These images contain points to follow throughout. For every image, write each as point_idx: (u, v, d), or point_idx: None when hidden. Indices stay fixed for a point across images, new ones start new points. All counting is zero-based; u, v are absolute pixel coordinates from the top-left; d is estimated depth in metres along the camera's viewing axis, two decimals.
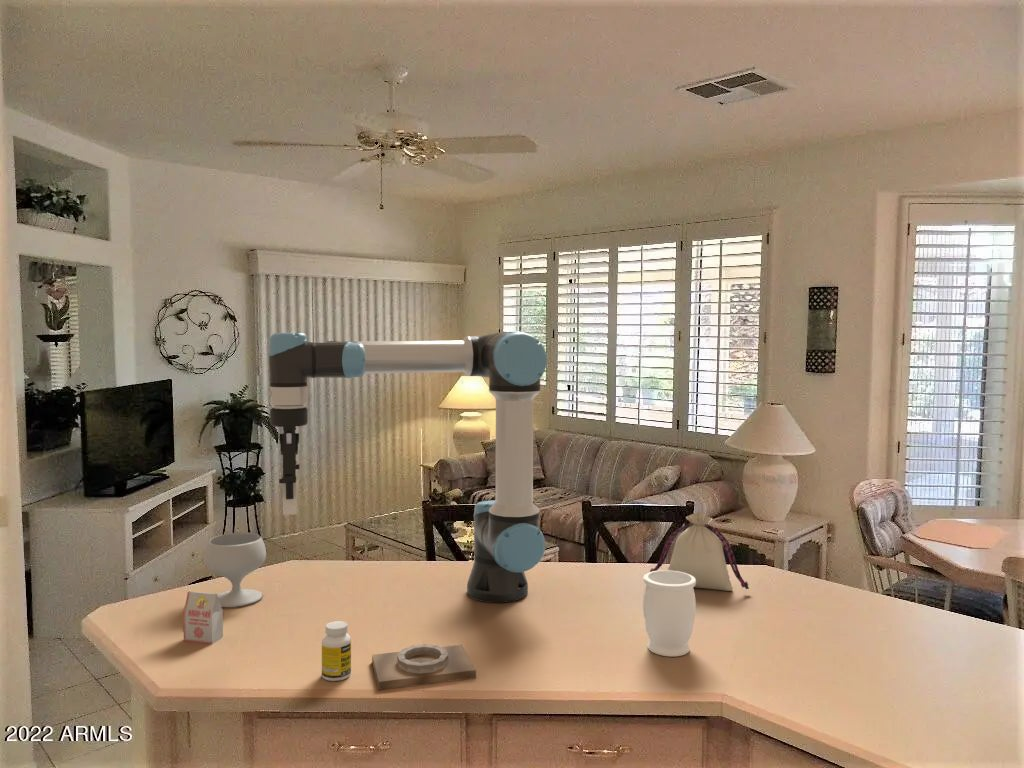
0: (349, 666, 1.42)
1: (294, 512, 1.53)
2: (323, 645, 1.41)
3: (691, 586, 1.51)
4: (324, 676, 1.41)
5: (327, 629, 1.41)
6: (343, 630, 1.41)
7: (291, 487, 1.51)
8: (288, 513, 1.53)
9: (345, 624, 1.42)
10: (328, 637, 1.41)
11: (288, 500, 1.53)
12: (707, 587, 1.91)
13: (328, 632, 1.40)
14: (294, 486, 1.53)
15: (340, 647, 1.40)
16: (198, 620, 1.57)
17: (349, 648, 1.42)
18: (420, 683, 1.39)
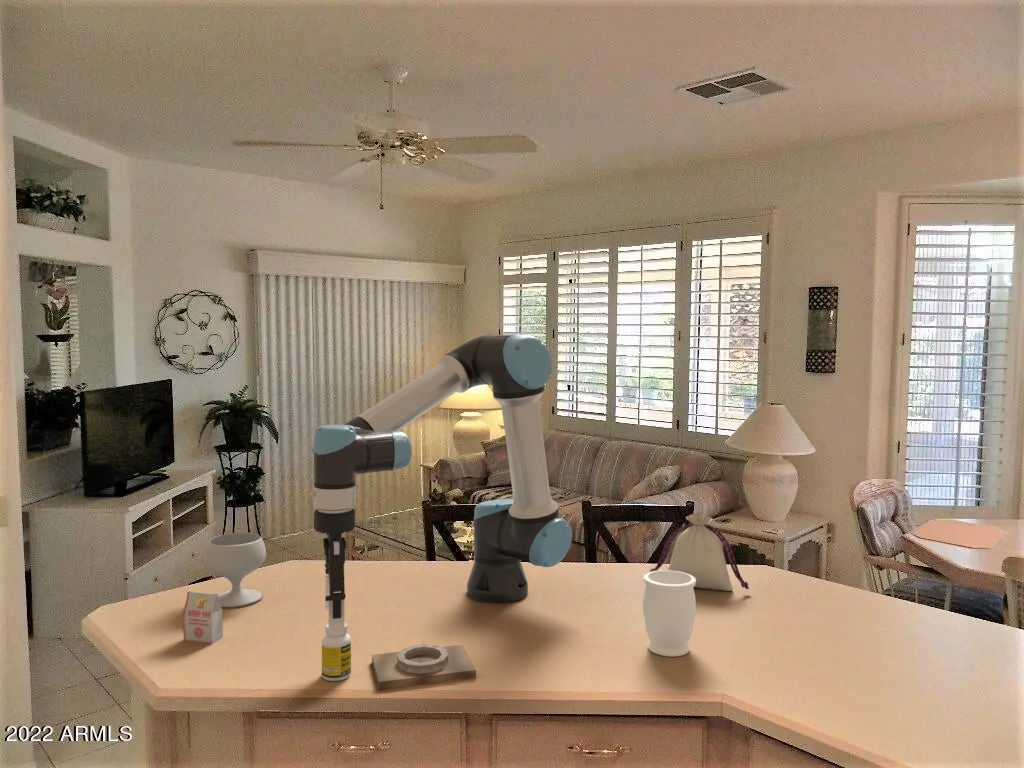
0: (349, 666, 1.42)
1: (341, 632, 1.35)
2: (323, 645, 1.41)
3: (691, 586, 1.51)
4: (324, 676, 1.41)
5: (327, 629, 1.41)
6: None
7: (339, 605, 1.34)
8: (335, 633, 1.35)
9: (345, 624, 1.42)
10: (328, 637, 1.41)
11: (335, 619, 1.35)
12: (707, 587, 1.91)
13: (328, 632, 1.40)
14: (341, 603, 1.35)
15: (340, 648, 1.40)
16: (198, 620, 1.57)
17: (349, 648, 1.42)
18: (420, 683, 1.39)
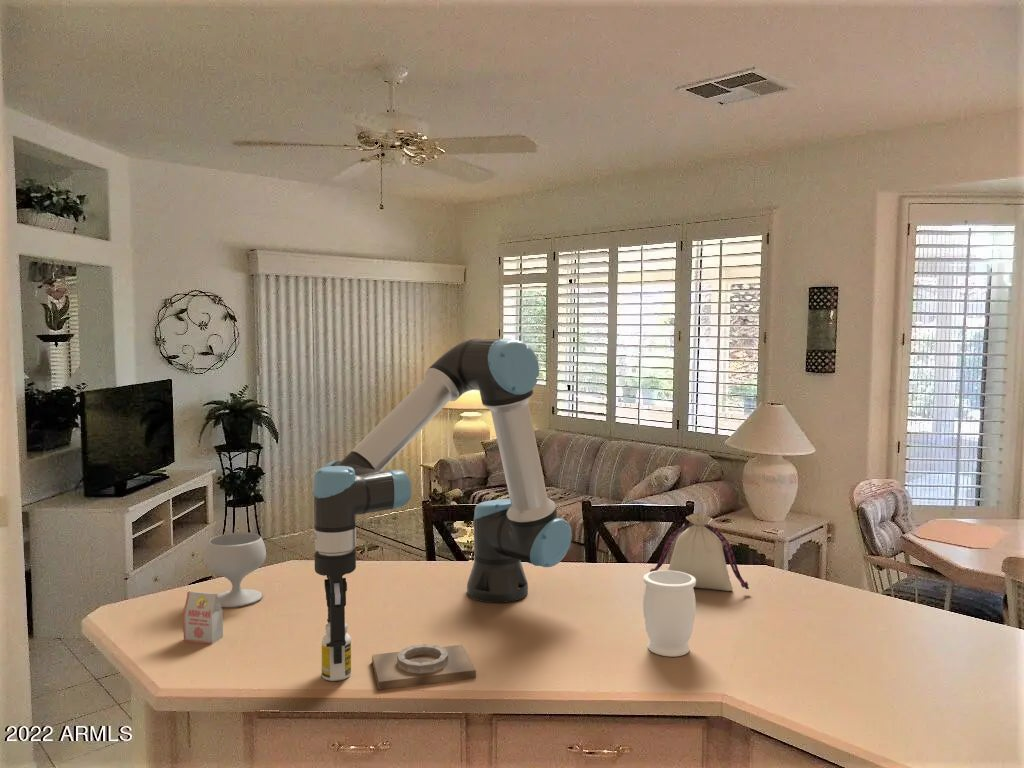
0: (349, 666, 1.42)
1: (342, 676, 1.40)
2: (323, 645, 1.41)
3: (691, 586, 1.51)
4: (324, 676, 1.41)
5: (327, 629, 1.41)
6: None
7: (339, 651, 1.38)
8: (336, 678, 1.39)
9: (345, 624, 1.42)
10: (328, 637, 1.41)
11: (336, 664, 1.39)
12: (707, 587, 1.91)
13: (328, 632, 1.40)
14: (342, 648, 1.39)
15: None
16: (198, 620, 1.57)
17: (349, 648, 1.42)
18: (420, 683, 1.39)
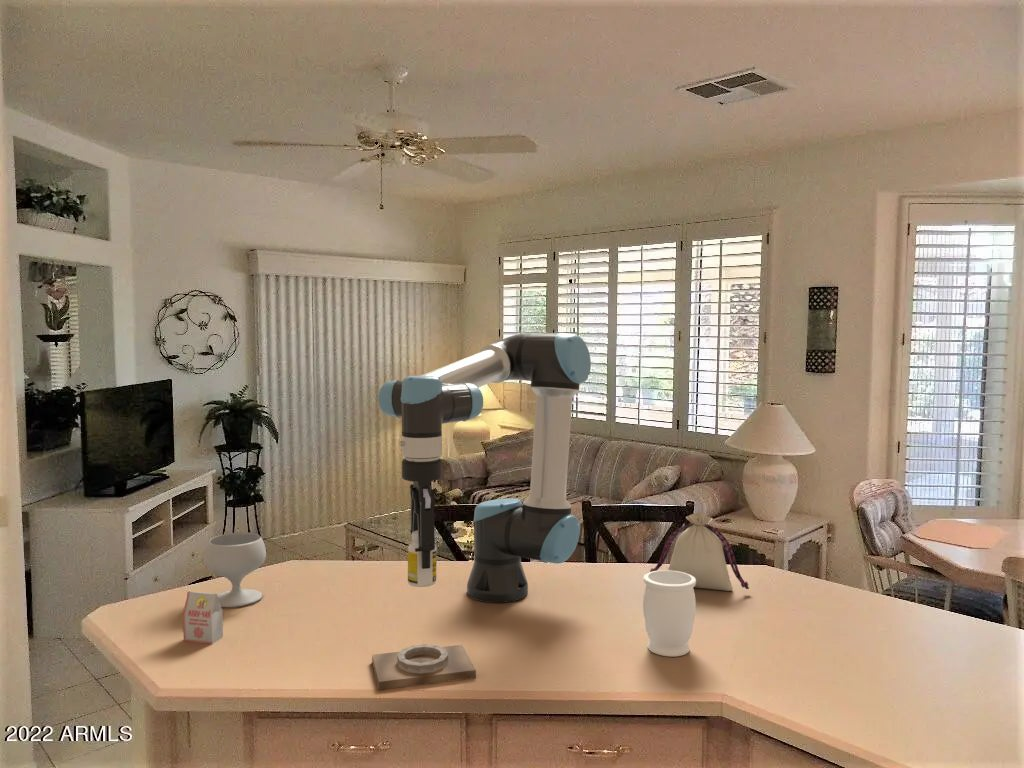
0: (435, 573, 1.43)
1: (430, 582, 1.41)
2: (410, 551, 1.42)
3: (691, 586, 1.51)
4: (411, 582, 1.42)
5: (414, 536, 1.42)
6: None
7: (428, 555, 1.39)
8: (423, 583, 1.41)
9: None
10: (415, 544, 1.42)
11: (424, 569, 1.40)
12: (707, 587, 1.91)
13: (415, 539, 1.42)
14: (430, 554, 1.41)
15: None
16: (198, 620, 1.57)
17: (435, 555, 1.43)
18: (420, 683, 1.39)
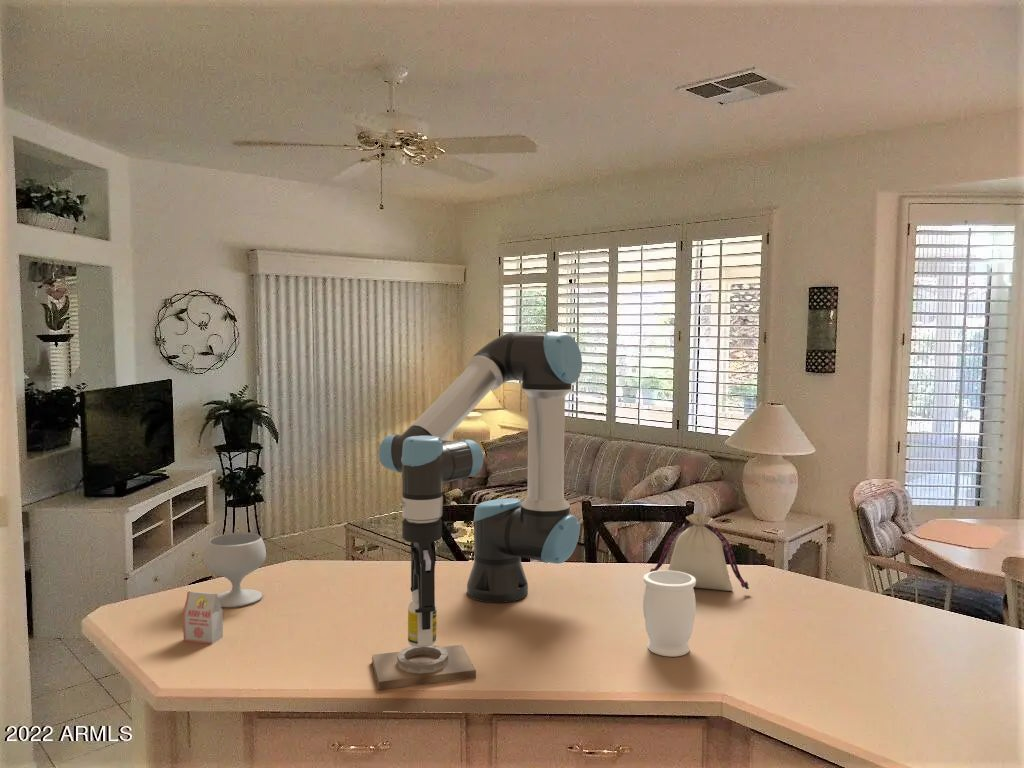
0: (435, 633, 1.44)
1: (430, 642, 1.42)
2: (410, 611, 1.43)
3: (691, 586, 1.51)
4: (411, 642, 1.43)
5: (414, 596, 1.43)
6: None
7: (428, 617, 1.40)
8: (424, 644, 1.41)
9: None
10: (415, 604, 1.43)
11: (424, 630, 1.41)
12: (707, 587, 1.91)
13: (415, 599, 1.43)
14: (430, 615, 1.41)
15: None
16: (198, 620, 1.57)
17: (435, 615, 1.44)
18: (420, 683, 1.39)
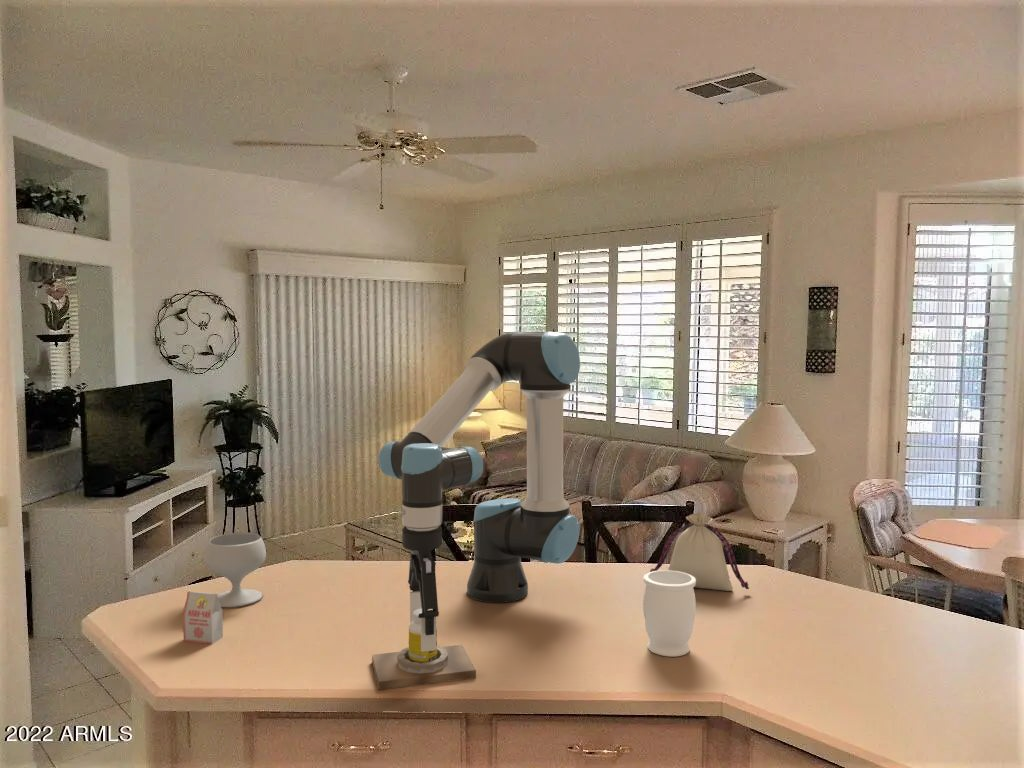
0: (435, 652, 1.44)
1: (433, 648, 1.38)
2: (411, 632, 1.43)
3: (691, 586, 1.51)
4: None
5: (415, 616, 1.43)
6: None
7: (432, 622, 1.37)
8: (427, 649, 1.38)
9: None
10: (416, 624, 1.43)
11: (427, 635, 1.38)
12: (707, 587, 1.91)
13: (416, 619, 1.43)
14: (433, 620, 1.38)
15: None
16: (198, 620, 1.57)
17: (436, 635, 1.44)
18: (420, 683, 1.39)
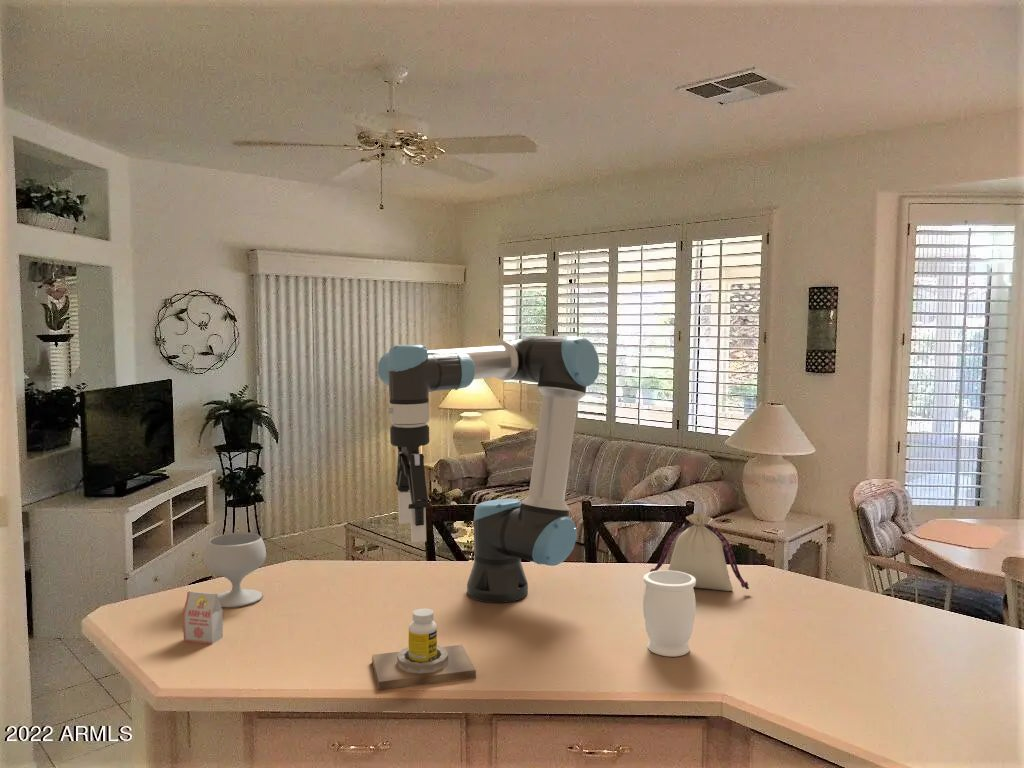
0: (435, 652, 1.44)
1: (423, 539, 1.42)
2: (411, 632, 1.43)
3: (691, 586, 1.51)
4: None
5: (415, 616, 1.43)
6: (430, 618, 1.43)
7: (421, 512, 1.40)
8: (417, 540, 1.42)
9: (431, 611, 1.45)
10: (415, 624, 1.43)
11: (417, 526, 1.41)
12: (707, 587, 1.91)
13: (416, 619, 1.43)
14: None
15: (428, 634, 1.42)
16: (198, 620, 1.57)
17: (436, 635, 1.44)
18: (420, 683, 1.39)
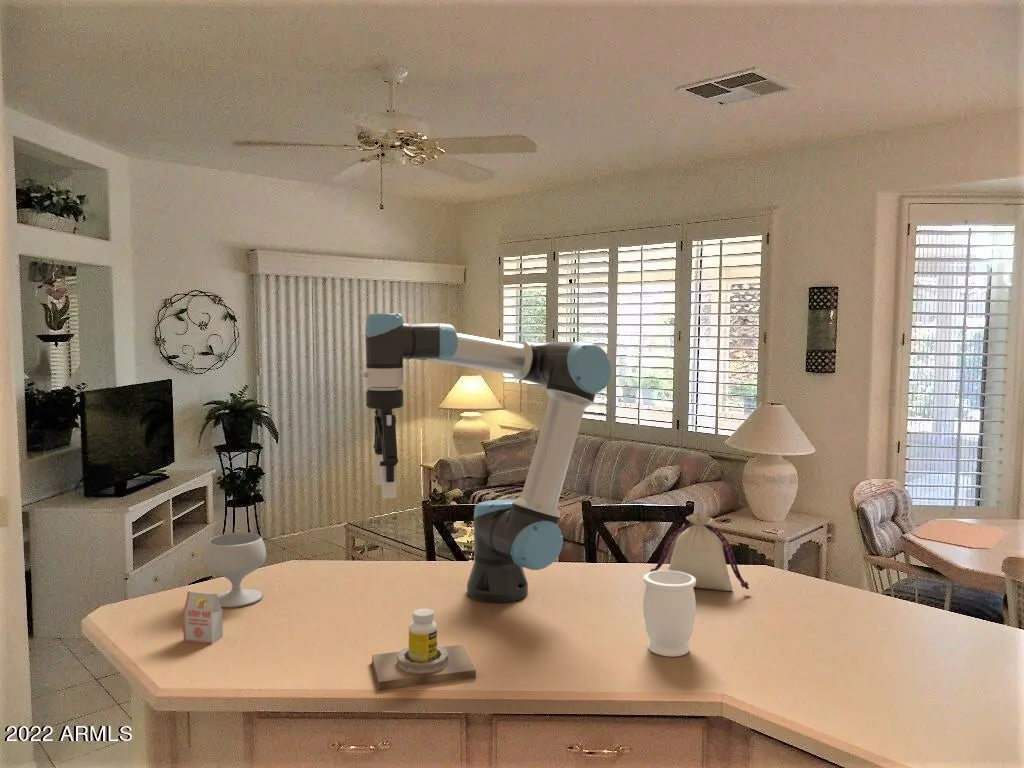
0: (435, 653, 1.44)
1: (394, 495, 1.50)
2: (411, 632, 1.43)
3: (691, 586, 1.51)
4: None
5: (415, 616, 1.43)
6: (430, 618, 1.43)
7: (392, 470, 1.49)
8: (388, 496, 1.50)
9: (431, 611, 1.45)
10: (416, 624, 1.43)
11: (388, 483, 1.50)
12: (707, 587, 1.91)
13: (416, 619, 1.43)
14: (394, 469, 1.50)
15: (428, 634, 1.42)
16: (198, 620, 1.57)
17: (436, 635, 1.44)
18: (420, 683, 1.39)
